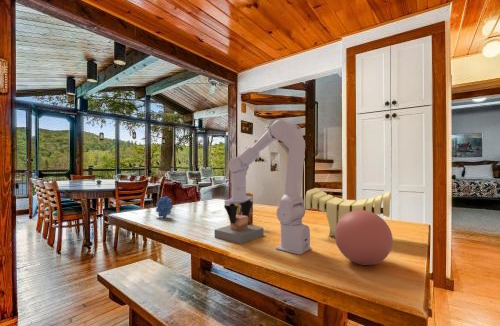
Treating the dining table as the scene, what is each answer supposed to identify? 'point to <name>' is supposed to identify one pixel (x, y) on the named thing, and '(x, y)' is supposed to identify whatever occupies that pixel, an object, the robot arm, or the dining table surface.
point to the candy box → (250, 217)
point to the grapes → (164, 206)
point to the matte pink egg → (363, 237)
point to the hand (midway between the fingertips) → (239, 221)
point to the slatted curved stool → (344, 206)
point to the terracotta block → (240, 223)
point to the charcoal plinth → (239, 234)
